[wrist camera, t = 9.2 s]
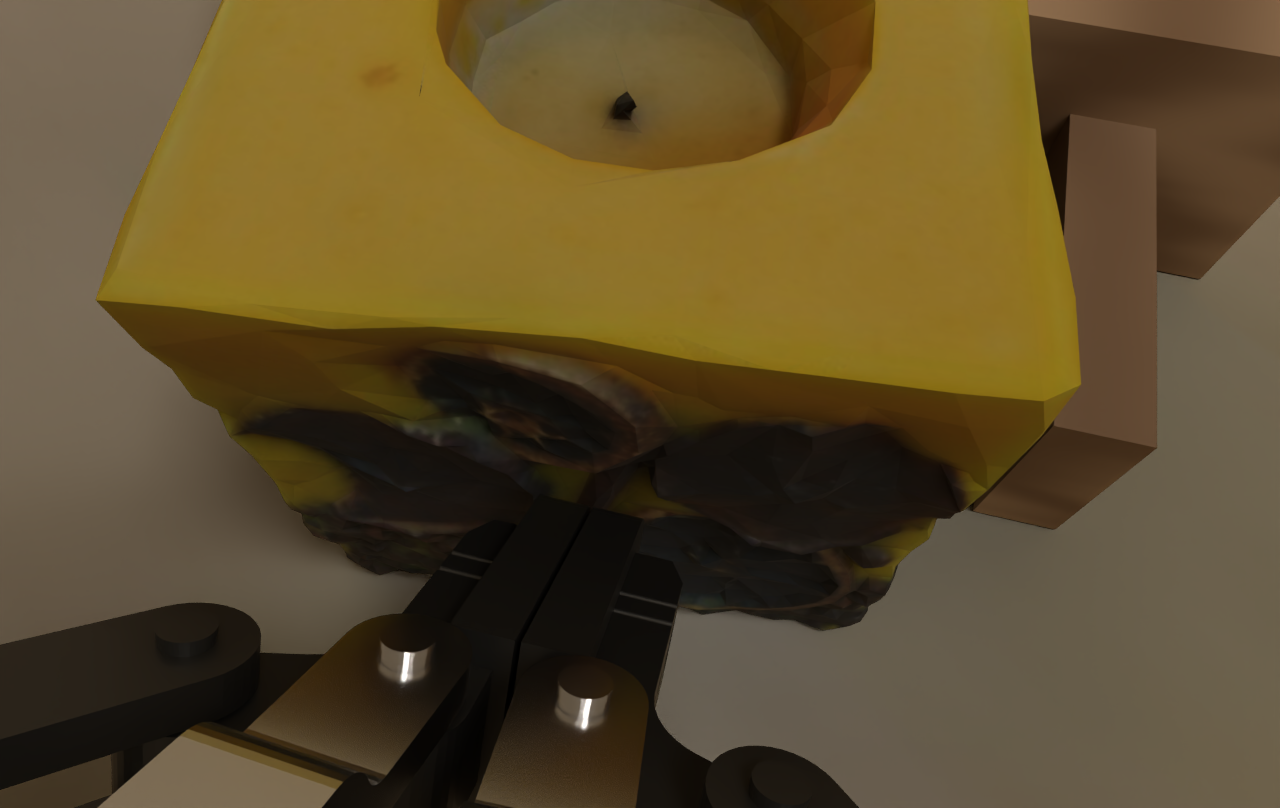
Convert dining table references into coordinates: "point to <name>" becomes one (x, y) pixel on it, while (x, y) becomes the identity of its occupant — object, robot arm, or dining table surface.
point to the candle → (615, 274)
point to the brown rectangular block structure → (1139, 205)
